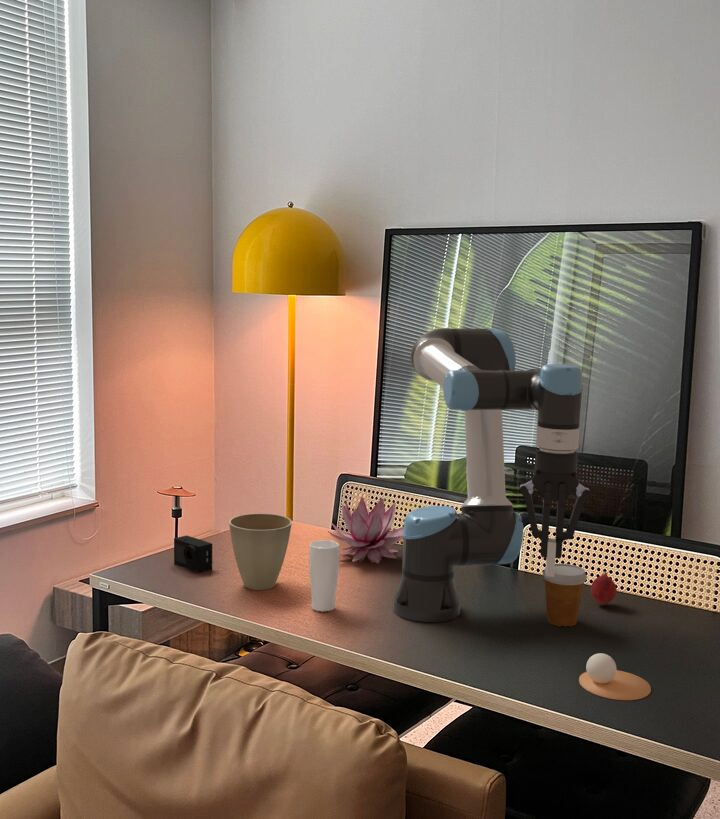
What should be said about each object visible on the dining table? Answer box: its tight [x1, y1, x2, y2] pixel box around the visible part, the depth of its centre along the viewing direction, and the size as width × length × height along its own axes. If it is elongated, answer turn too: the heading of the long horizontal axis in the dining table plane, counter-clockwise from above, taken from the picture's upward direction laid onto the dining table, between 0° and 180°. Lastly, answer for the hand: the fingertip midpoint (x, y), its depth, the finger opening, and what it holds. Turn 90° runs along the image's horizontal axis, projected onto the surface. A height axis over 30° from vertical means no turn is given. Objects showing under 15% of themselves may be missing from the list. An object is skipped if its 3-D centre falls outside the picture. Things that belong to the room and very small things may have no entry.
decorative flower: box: [327, 496, 404, 564], centre depth 247 cm, size 21×21×15 cm
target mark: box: [578, 669, 652, 701], centre depth 173 cm, size 13×13×1 cm
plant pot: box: [228, 512, 293, 591], centre depth 223 cm, size 15×15×16 cm
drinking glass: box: [308, 539, 340, 613], centre depth 208 cm, size 7×7×15 cm
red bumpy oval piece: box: [590, 571, 618, 606], centre depth 216 cm, size 6×6×8 cm
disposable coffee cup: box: [542, 563, 588, 628], centre depth 204 cm, size 10×10×12 cm
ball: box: [585, 652, 618, 684], centre depth 174 cm, size 6×6×6 cm
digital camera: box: [173, 535, 213, 574], centre depth 236 cm, size 10×5×7 cm, turn 48°
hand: (549, 574), depth 173 cm, fingers closed
